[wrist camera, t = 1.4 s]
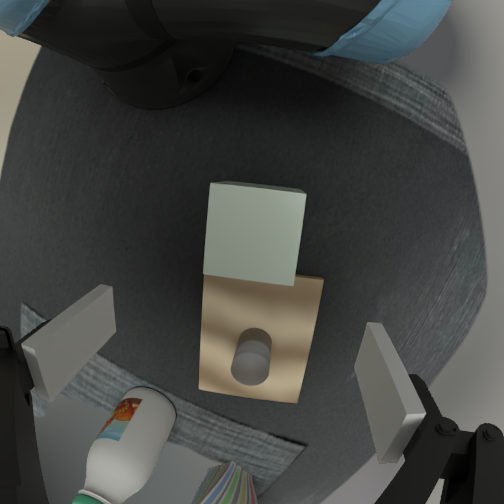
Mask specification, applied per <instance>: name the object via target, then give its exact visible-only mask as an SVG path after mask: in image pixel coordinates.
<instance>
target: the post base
mask: <svg viewBox="0 0 504 504" xmlns="http://www.w3.org/2000/svg"><path fill="white" fill-rule="evenodd" d="M323 282H324V279H323V278H321V277H313V276H305V275H297V274H295V279H294V285H293V286H287V285H279V284H271V283H264V282H256V281H249V280H242V279H234V278H227V277H220V276H213V275H206V274H204V286H203V302H202V321H201V342H200V369H199V389H201V390H206V391H211V392H217V393H223V394H229V395H235V396H242V397H248V398H256V399H263V400H271V401H280V402H290V403H297V401H298V397H299V393H300V389H301V385H302V381H303V377H304V373H305V368H306V364H307V360H308V355H309V351H310V346H311V342H312V337H313V333H314V328H315V323H316V318H317V313H318V308H319V303H320V298H321V293H322V288H323Z"/></svg>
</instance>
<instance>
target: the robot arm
mask: <svg viewBox="0 0 504 504" xmlns="http://www.w3.org/2000/svg"><path fill="white" fill-rule="evenodd" d="M451 2H452V0H0V29H1V30H3V31H4V32H6V33H7V35H9V36H12V37H14V36H18V37H21V38H23V39H26V40H29V41H31V42H34V43H36V44H39V45H41V46H44V47H46V48H49V49H51V50H54V51H56V52H59V53H61V54H63V55H66V56H68V57H70V58H73V59H75V60H77V61H80V62H82V63H84V64H86V65H89V66H91V67H93V68H94V69H95V71H96V72H97V73H98V76H99V78H100V80H101V82H102V83H103V85H104V86H105V88H106V89H107V90H108V91H109V92H110V93H111V94H112V95H114V96H115V97H116V98H118V99H120V100H122V101H124V102H126V103H129V104H131V105H134V106H136V107H140V108H145V109H164V108H169V107H174V106H177V105H180V104H183V103H185V102H187V101H190V100H192V99H193V98H195V97H197V96H198V95H200V94H201V93H203V92H204V91H206V90H207V89H208V88H209V87H210V86H211V85H213V84H214V83H215V82H216V81H217V79H218V78H219V77H220V76H221V75H222V73H223V72H224V71H225V69H226V67H227V66H228V64H229V62H230V60H231V58H232V55H233V52H234V49H235V44H236V42H242V43H252V44H261V45H269V46H277V47H283V48H290V49H296V50H302V51H307V52H311V54H312V55H314V56H320V57H323V56H329V55H334V56H340V57H345V58H350V59H355V60H360V61H364V62H369V63H377V64H382V63H389V62H392V61H394V60H397V59H399V58H401V57H402V56H406V55H408V54H409V53H411V52H412V51H414V50H415V49H416V48H417V47H419V46H420V45H421V44H422V43H423V42H424V41H425V40H426V39H427V38H428V37H429V36H430V34H431V33H432V32H433V31H434V30H435V28H436V27H437V26H438V24H439V23H440V21H441V20H442V18H443V17H444V15H445V13H446V12H447V10H448V8H449V6H450V4H451ZM115 332H116V325H115V314H114V303H113V289H112V286H107V285H102V284H100V285H99V286H97V287H96V288H95V289H93V290H92V291H90V292H89V293H88V294H86V295H85V296H84V297H82V298H81V299H79V300H78V301H77V302H75V303H74V304H73V305H71V306H70V307H69V308H67V309H66V310H65V311H63V312H62V313H61V314H59V315H58V316H57V317H55V318H54V319H51V320H48V321H45V322H43V323H41V324H40V325H39V326H37V327H36V329H33V330H32V331H31V332H30V333H28V334H27V335H26V336H24V337H23V338H22V339H20V340H19V341H18V342H16V343H15V344H14V340H13V336H12V332H11V330H10V329H9V328H8V327H5V326H0V504H49V502H48V498H47V495H46V490H45V486H44V481H43V476H42V471H41V467H40V461H39V454H38V448H37V441H36V434H35V425H34V416H33V404H32V396H31V393H30V390H31V389H32V388H33V387H35V389H36V392H37V395H38V397H40V398H42V399H44V400H46V401H48V402H52V401H53V400H54V399H55V398H56V397H57V395H58V394H59V393H60V392H61V391H62V390H63V389H64V388H65V386H66V385H67V384H68V383H69V382H70V381H71V380H72V379H73V378H74V376H75V375H76V374H77V373H78V372H79V371H80V370H81V369H82V368H83V367H84V365H85V364H86V363H87V362H88V361H89V360H90V359H91V358H92V357H93V356H94V355H95V354H96V352H97V351H98V350H99V349H100V348H101V347H102V346H103V345H104V344H105V343H106V342H107V341H108V340H109V339H110V337H111V336H112V335H113V334H114V333H115ZM354 369H355V372H356V376H357V379H358V383H359V387H360V390H361V394H362V398H363V401H364V405H365V409H366V413H367V417H368V420H369V424H370V428H371V432H372V436H373V441H374V445H375V449H376V453H377V457H378V462H379V464H384V463H397V462H398V460H399V458H400V457H401V455H402V454H404V457H405V462H404V464H403V465H402V467H401V468H400V470H399V471H398V472H397V474H396V476H395V477H394V478H393V480H392V481H391V482H390V484H389V485H388V486H387V488H386V489H385V491H384V492H383V493H382V494H381V496H380V497H379V498H378V500H377V501H376V502H375V503H374V504H425V503H426V502H427V500H428V498H429V496H430V495H431V493H432V491H433V489H434V487H435V485H436V483H437V481H438V479H439V478H440V479H444V485H443V490H442V495H441V500H440V504H504V436H503V433H502V431H501V430H500V429H499V428H498V427H497V426H495V425H492V424H490V423H484V424H481V425H480V426H479V427H478V428H477V429H476V431H475V432H468V431H461V430H459V427H458V425H457V424H456V423H455V422H454V421H452V420H451V419H449V418H446V417H442V415H441V413H440V411H439V409H438V407H437V405H436V403H435V401H434V399H433V397H431V394H430V391H428V388H427V386H426V384H425V382H424V381H423V380H422V379H421V378H420V377H419V376H418V375H417V374H407V372H406V370H405V368H404V366H403V364H402V362H401V360H400V358H399V356H398V354H397V352H396V350H395V348H394V346H393V344H392V342H391V340H390V338H389V336H388V335H387V333H386V331H385V329H384V327H383V325H382V323H372V322H367V325H366V329H365V332H364V336H363V339H362V343H361V346H360V350H359V353H358V356H357V360H356V363H355V366H354Z"/></svg>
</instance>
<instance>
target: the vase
mask: <svg viewBox="0 0 504 504" xmlns="http://www.w3.org/2000/svg"><path fill="white" fill-rule="evenodd" d="M192 504H258V503H257V497H256V493H255V489H254V485H253V481H252V475H250V474H249V473H247V472H246V471H245V470H244V469H242V468H241V467H240V466H239V465H236V463H235V462H233V461H230V462H227V463H224V464H222V465H220V466H219V465H218V466H215V467H212V468H209V469H208V471H207V474H206V476H205V478H204V480H203V482H202V484H201V485H200V487H199V489H198V491H197V493H196V495H195V497H194V500H193V502H192Z"/></svg>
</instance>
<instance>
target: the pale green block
mask: <svg viewBox="0 0 504 504" xmlns="http://www.w3.org/2000/svg"><path fill="white" fill-rule="evenodd" d="M305 202H306V193H305V192H303V191H302V190H301V189H295V188H287V187H279V186H271V185H263V184H254V183H245V182H235V181H223V182H215V183H210V192H209V203H208V215H207V227H206V239H205V253H204V267H203V274H206V275H213V276H220V277H227V278H234V279H242V280H249V281H256V282H264V283H271V284H279V285H287V286H293V285H294V279H295V272H296V266H297V259H298V252H299V245H300V238H301V231H302V224H303V217H304V209H305Z"/></svg>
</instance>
